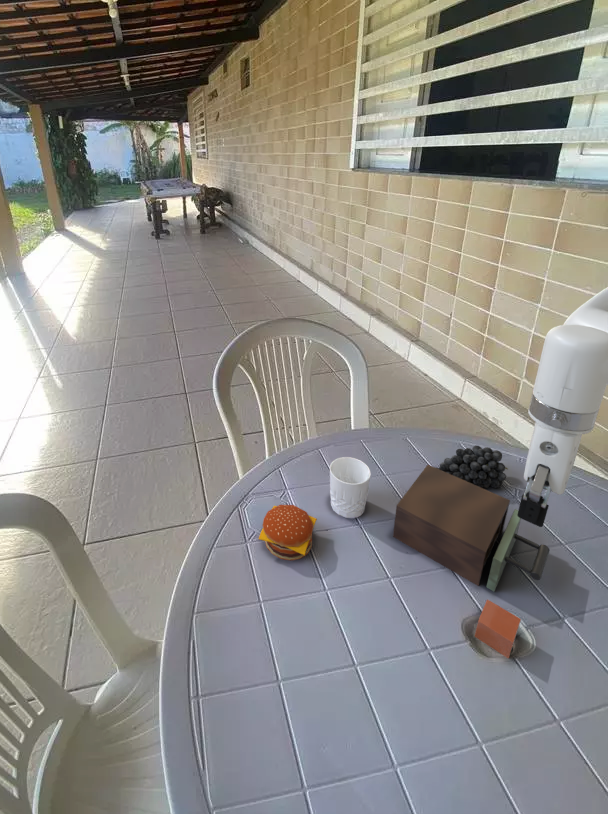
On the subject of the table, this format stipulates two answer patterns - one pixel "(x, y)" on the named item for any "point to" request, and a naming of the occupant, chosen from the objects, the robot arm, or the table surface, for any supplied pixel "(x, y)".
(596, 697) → the table surface
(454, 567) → the cabinet
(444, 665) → the table surface
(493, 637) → the block
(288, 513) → the hamburger
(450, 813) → the table surface
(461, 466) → the fruit
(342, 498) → the white cup
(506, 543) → the drawer
